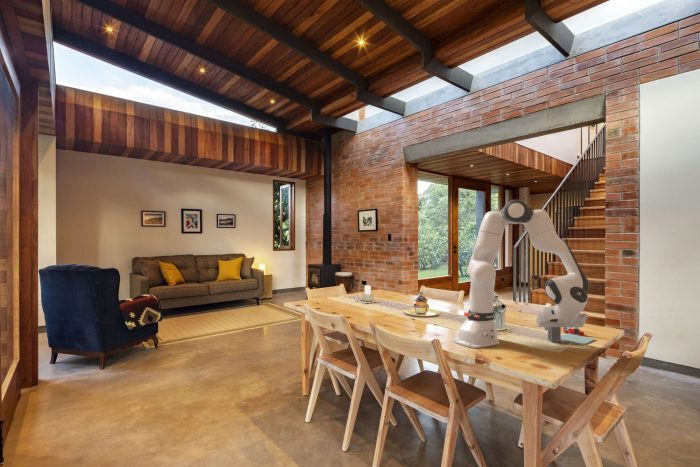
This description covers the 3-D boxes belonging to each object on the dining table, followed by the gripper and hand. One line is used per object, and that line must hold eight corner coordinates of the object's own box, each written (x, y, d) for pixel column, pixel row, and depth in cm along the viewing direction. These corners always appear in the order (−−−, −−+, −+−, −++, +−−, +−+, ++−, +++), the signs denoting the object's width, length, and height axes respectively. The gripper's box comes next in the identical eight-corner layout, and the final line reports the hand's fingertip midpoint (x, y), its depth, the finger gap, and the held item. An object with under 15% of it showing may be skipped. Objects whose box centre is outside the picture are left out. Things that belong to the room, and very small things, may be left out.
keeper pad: (583, 345, 160) (583, 344, 160) (556, 338, 169) (555, 337, 169) (595, 340, 167) (595, 339, 167) (568, 334, 177) (568, 333, 177)
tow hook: (559, 329, 185) (568, 333, 176) (560, 305, 186) (568, 308, 176) (576, 331, 184) (586, 335, 174) (577, 307, 184) (586, 309, 175)
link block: (560, 342, 164) (560, 323, 164) (551, 342, 165) (551, 323, 165) (556, 339, 168) (556, 321, 168) (547, 339, 169) (547, 321, 169)
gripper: (586, 307, 157) (575, 323, 167) (539, 307, 159) (531, 323, 169) (592, 320, 153) (580, 335, 163) (544, 319, 155) (535, 334, 165)
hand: (555, 329), depth 166 cm, fingers open, 8 cm apart
